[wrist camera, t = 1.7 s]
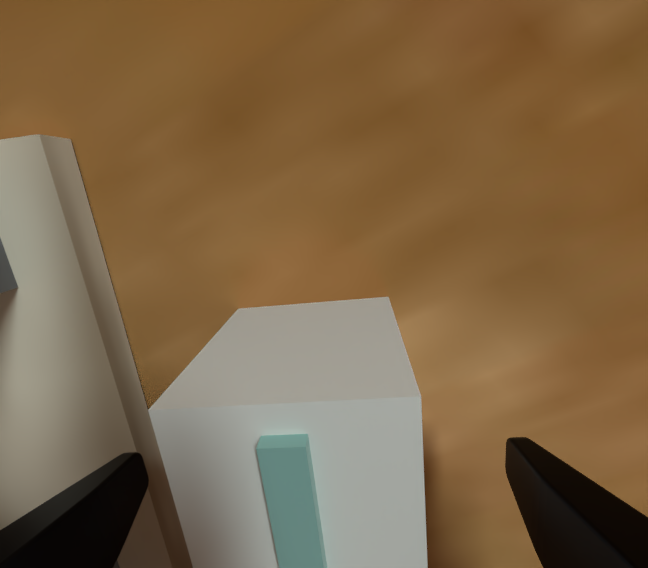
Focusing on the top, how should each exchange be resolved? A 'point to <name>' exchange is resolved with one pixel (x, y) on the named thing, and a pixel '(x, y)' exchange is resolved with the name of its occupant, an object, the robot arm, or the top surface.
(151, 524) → the rail board
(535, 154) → the top surface
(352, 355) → the module block
